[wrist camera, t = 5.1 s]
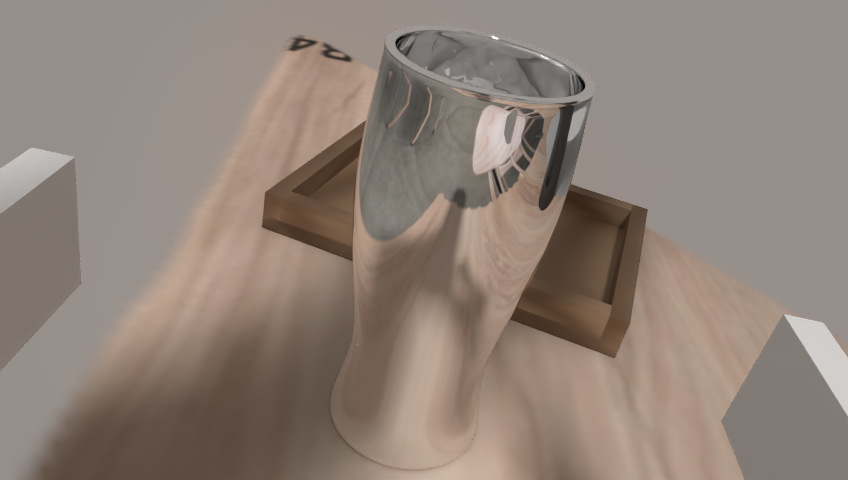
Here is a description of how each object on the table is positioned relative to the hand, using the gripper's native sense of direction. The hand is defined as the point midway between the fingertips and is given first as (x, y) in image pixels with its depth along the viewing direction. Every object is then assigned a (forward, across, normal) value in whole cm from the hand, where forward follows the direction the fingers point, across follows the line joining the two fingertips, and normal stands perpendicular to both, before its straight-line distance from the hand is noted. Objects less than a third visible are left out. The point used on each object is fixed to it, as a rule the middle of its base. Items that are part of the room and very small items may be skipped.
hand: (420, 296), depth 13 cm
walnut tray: (+26, +3, -13) cm, 30 cm away
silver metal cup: (+11, +1, -13) cm, 17 cm away
